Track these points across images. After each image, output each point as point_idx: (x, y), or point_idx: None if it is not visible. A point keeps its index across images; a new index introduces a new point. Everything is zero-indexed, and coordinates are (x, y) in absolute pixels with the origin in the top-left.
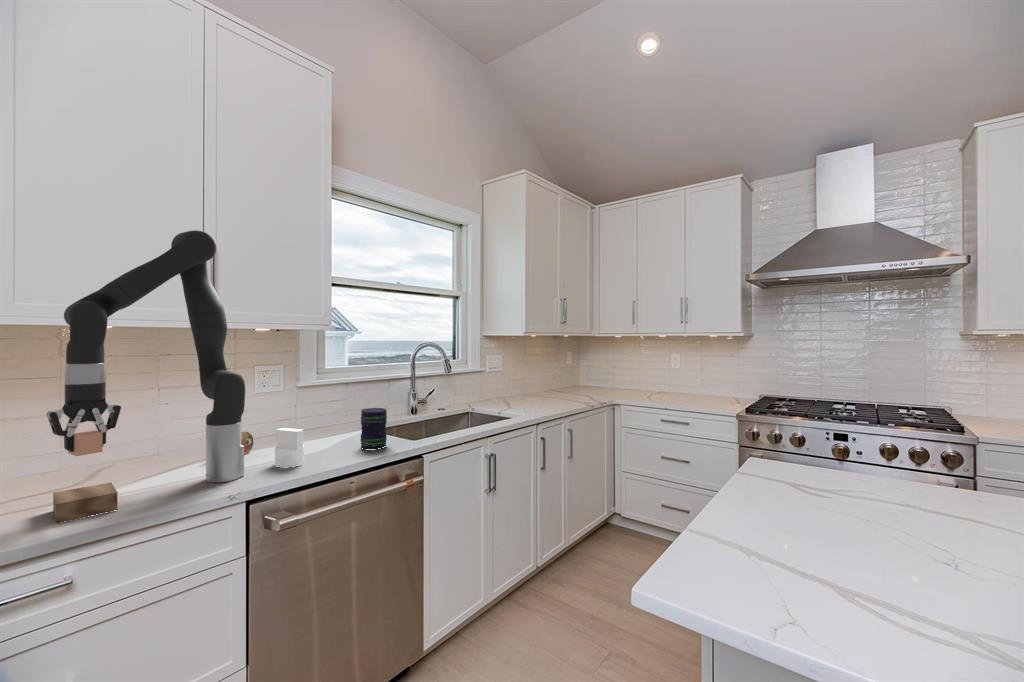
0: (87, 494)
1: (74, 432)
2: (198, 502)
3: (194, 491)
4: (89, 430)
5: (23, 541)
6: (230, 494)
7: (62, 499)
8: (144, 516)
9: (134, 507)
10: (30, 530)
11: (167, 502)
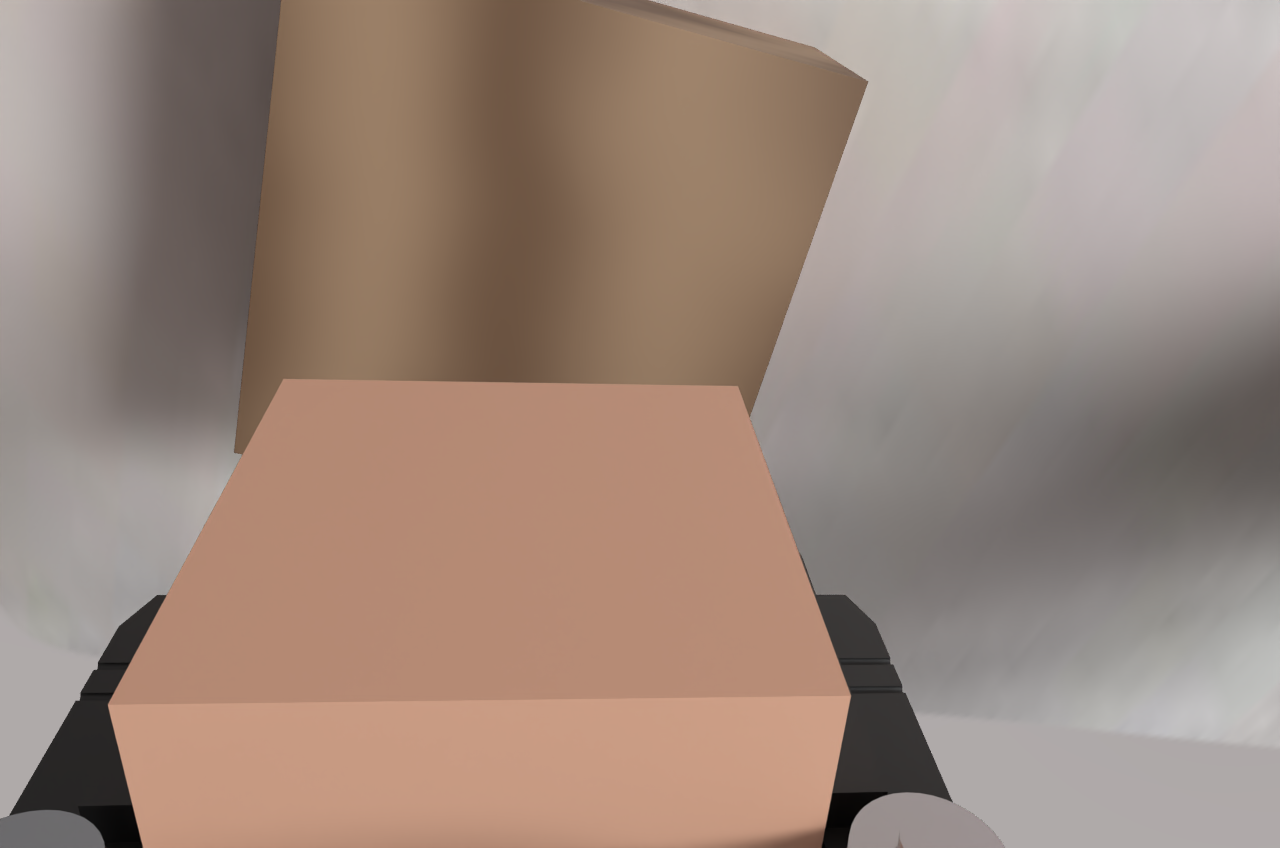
0: (517, 378)
1: (277, 705)
2: (1058, 721)
3: (1253, 471)
4: (706, 696)
5: (66, 559)
6: (1263, 737)
7: (307, 349)
8: None
9: (793, 471)
10: (116, 360)
11: (975, 558)
